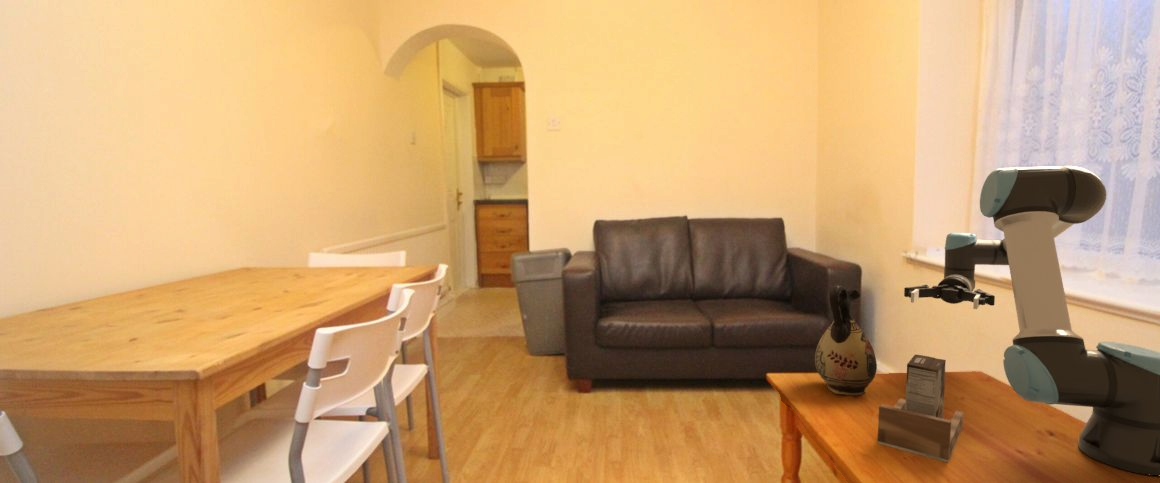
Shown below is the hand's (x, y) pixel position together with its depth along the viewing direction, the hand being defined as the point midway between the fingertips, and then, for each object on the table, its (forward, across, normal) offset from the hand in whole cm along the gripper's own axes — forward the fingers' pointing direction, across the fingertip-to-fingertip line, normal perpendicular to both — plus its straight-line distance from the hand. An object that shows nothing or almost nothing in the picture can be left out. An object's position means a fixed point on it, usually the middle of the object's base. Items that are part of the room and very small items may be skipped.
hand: (942, 300), depth 137 cm
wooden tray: (+25, 0, -27) cm, 37 cm away
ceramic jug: (+8, +21, -27) cm, 35 cm away
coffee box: (+22, 0, -27) cm, 35 cm away
